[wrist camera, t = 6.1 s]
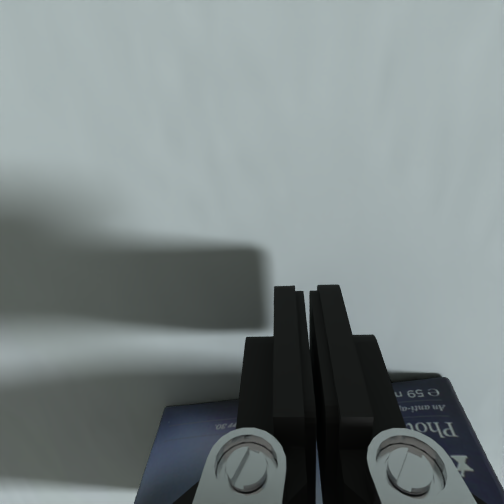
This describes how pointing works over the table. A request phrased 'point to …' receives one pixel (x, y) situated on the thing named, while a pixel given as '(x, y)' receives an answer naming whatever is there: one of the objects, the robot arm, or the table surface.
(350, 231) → the table surface
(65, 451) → the table surface
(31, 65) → the table surface
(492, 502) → the small box
